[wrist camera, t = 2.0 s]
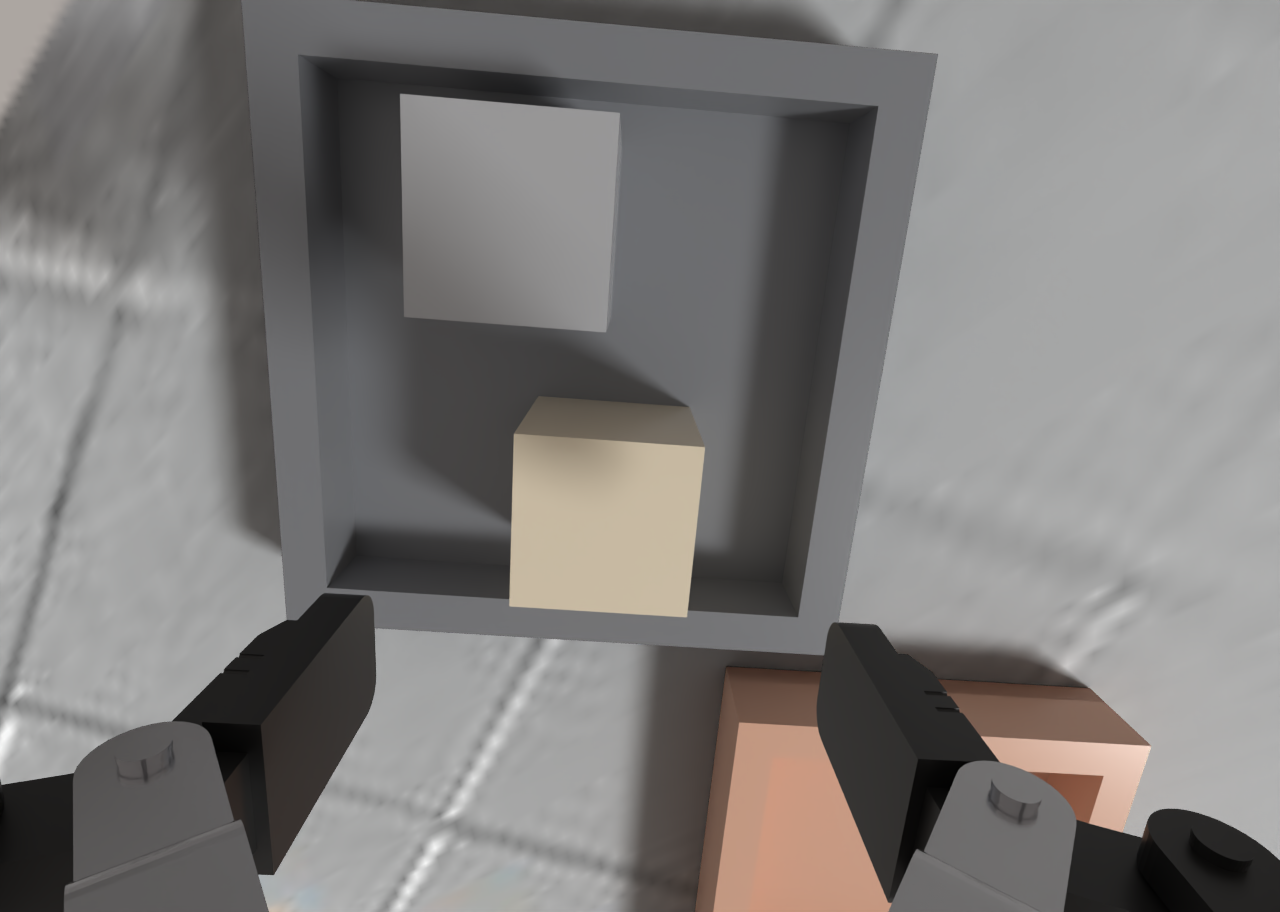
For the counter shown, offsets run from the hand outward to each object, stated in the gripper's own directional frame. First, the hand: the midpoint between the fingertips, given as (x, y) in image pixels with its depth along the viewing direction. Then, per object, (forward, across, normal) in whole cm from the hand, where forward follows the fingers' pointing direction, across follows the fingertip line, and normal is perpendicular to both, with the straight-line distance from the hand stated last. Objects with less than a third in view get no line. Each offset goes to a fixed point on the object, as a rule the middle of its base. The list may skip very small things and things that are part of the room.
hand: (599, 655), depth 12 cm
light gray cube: (+9, +3, -8) cm, 12 cm away
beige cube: (+10, 0, 0) cm, 10 cm away
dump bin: (+10, -11, +13) cm, 20 cm away
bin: (+10, +1, -4) cm, 11 cm away
